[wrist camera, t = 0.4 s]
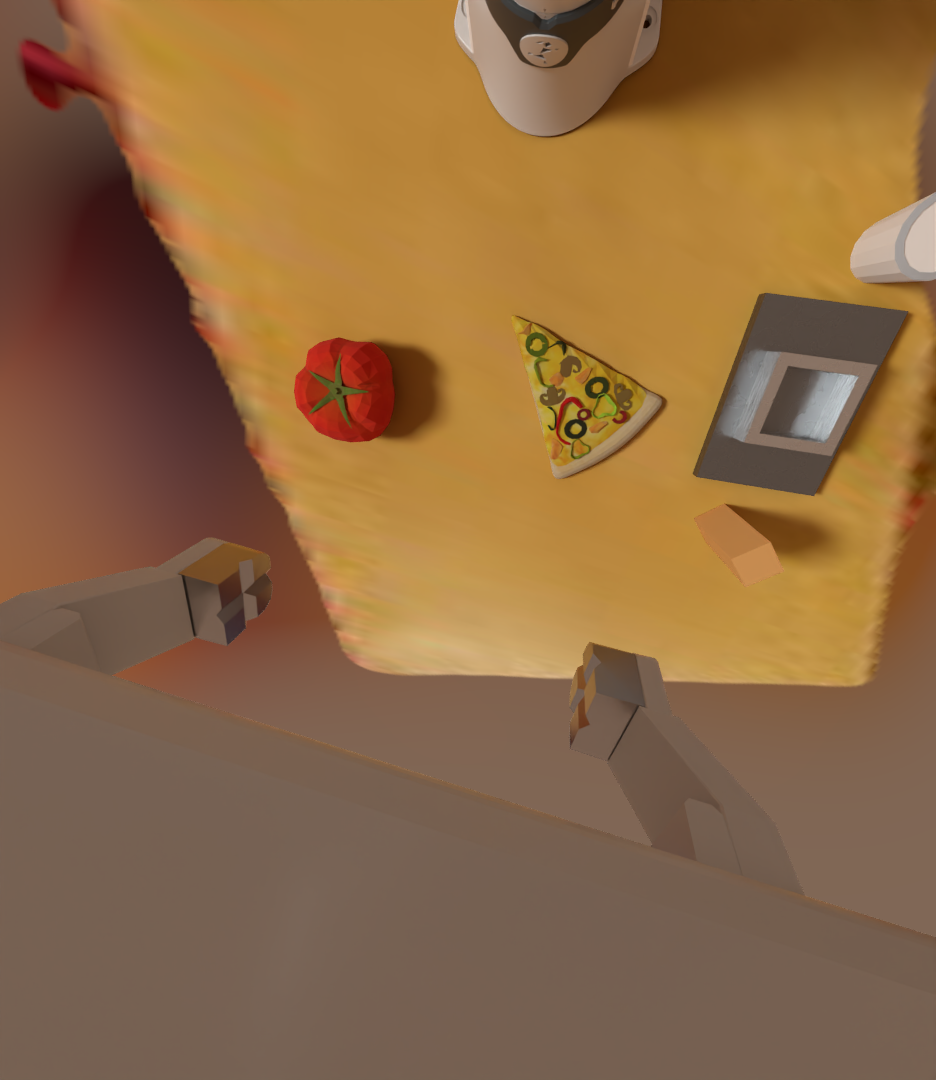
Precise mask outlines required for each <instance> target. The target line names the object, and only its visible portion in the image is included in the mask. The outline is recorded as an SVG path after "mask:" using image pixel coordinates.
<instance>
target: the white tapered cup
mask: <svg viewBox="0 0 936 1080" xmlns="http://www.w3.org/2000/svg"><path fill="white" fill-rule="evenodd" d="M851 270H852V272H853V274H854V276H855V278H857V279H859V280H860V281H862V282H864V283H895V282H917V281H931V280H934V279H936V193H933V194H931V195H929V196H927V197H926V198H924V199H922V200H920V201H918V202H916V203H914V204H912V205H910V206H908V207H906V208H904V209H902V210H900V211H898V212H896V213H894V214H892V215H890V216H888V217H886V218H884V219H882V220H880V221H878V222H876V223H875V224H874V225H872V226H871V227H870V228H868V229H867V230H866V231H864V233H863V234H862V235H861V237H860V238H859V239H858V241H857V242H856V243H855V246H854V249H853V251H852V254H851Z"/></svg>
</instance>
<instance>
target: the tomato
mask: <svg viewBox="0 0 936 1080" xmlns="http://www.w3.org/2000/svg"><path fill="white" fill-rule="evenodd" d="M294 394H295V399H296V405H297V408H298V409H299V410H300V411H301V412H302V413H303V414H304V416H305V417H306V418H307V420H308V421H309V422H310V423H311V424H312V425H313V426H314V428H315V429H316V431H318V432H319V433H321V434H324V435H326V436H328V437H331V438H333V439H336V440H342V441H347V442H362V441H371V440H372V439H374V438H376V437H378V436H380V435H381V434H382V432H383V431H384V430H385V429H386V427H387V426H388V424H389V423H390V419H391V416H392V412H393V409H394V399H395V392H394V385H393V380H392V367H391V364H390V362H389V359H388V357H387V355H386V354H385V353H384V352H383V351H382V350H381V349H380V348H379V347H378V346H377V345H376V344H374V343H372V342H355V341H350V340H346V339H343V338H335V339H331V340H327V341H323V342H320V343H318V344H317V345H316V346H314V347H313V348H311V349H310V350H309V351H308V354H307V360H306V366H305V367H304V368H303V369H302V370H301V371H300V372H299V373H298V374H297V375H296V380H295V389H294Z"/></svg>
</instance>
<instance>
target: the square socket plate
mask: <svg viewBox="0 0 936 1080" xmlns="http://www.w3.org/2000/svg"><path fill="white" fill-rule="evenodd" d="M907 313H908V311H901V310H893V309H886V308H878V307H870V306H862V305H855V304H847V303H839V302H832V301H824V300H816V299H808V298H801V297H793V296H785V295H777V294H770V293H764V294H760V295H759V296H758V299H757V302H756V305H755V307H754V310H753V313H752V315H751V318H750V321H749V323H748V326H747V329H746V331H745V334H744V337H743V340H742V342H741V345H740V348H739V350H738V353H737V356H736V358H735V361H734V364H733V366H732V369H731V372H730V375H729V377H728V380H727V383H726V385H725V388H724V391H723V393H722V396H721V399H720V401H719V404H718V407H717V410H716V412H715V415H714V418H713V420H712V423H711V426H710V428H709V431H708V434H707V437H706V439H705V442H704V445H703V447H702V450H701V453H700V455H699V458H698V461H697V463H696V466H695V469H694V472H693V474H694V475H695V476H696V477H700V478H707V479H713V480H719V481H725V482H731V483H737V484H743V485H750V486H756V487H762V488H768V489H774V490H780V491H786V492H793V493H799V494H805V495H811V496H814V495H815V493H816V491H817V489H818V487H819V485H820V483H821V481H822V479H823V477H824V475H825V473H826V471H827V470H828V468H829V466H830V464H831V462H832V460H833V458H834V456H835V454H836V452H837V450H838V448H839V446H840V444H841V442H842V440H843V438H844V436H845V434H846V432H847V430H848V428H849V426H850V425H851V423H852V421H853V419H854V417H855V415H856V413H857V411H858V409H859V407H860V405H861V403H862V401H863V399H864V397H865V395H866V393H867V391H868V389H869V387H870V385H871V383H872V381H873V380H874V378H875V376H876V374H877V372H878V370H879V368H880V366H881V364H882V362H883V360H884V358H885V356H886V354H887V352H888V350H889V348H890V346H891V344H892V342H893V340H894V338H895V336H896V335H897V333H898V331H899V329H900V327H901V325H902V323H903V321H904V319H905V317H906V315H907Z"/></svg>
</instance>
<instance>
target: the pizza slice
mask: <svg viewBox="0 0 936 1080" xmlns="http://www.w3.org/2000/svg"><path fill="white" fill-rule="evenodd" d="M511 321H512V324H513V327H514V330H515V333H516V336H517V340H518V343H519V347H520V351H521V355H522V358H523V362H524V367H525V369H526V372H527V374H528V378H529V381H530V385H531V389H532V393H533V397H534V401H535V405H536V408H537V412H538V416H539V420H540V424H541V428H542V432H543V435H544V439H545V443H546V447H547V451H548V455H549V458H550V462H551V467H552V472H553V475H554V477H555V478H557V479H561V478H566V477H568V476H570V475H573V474H575V473H577V472H579V471H581V470H584V469H586V468H588V467H590V466H592V465H594V464H596V463H598V462H599V461H601V460H603V459H605V458H606V457H608V456H609V455H611V454H612V453H614V452H615V451H617V450H618V449H620V448H621V447H622V446H623V445H625V444H626V443H627V442H628V441H629V440H630V439H632V438H633V437H634V436H635V435H636V434H637V433H638V432H639V431H640V430H641V429H642V428H643V427H644V425H645V424H646V423H647V422H648V421H649V420H650V419H651V418H652V417H653V415H654V414H655V413H656V412H657V411H658V410H659V408H660V406H661V405H662V399H661V398H660V397H659V396H658V395H656V394H654V393H652V392H650V391H648V390H646V389H644V388H642V387H641V386H639V385H637V384H635V383H634V382H633V381H632V380H630V379H629V378H627V377H625V376H623V375H621V374H619V373H617V372H615V371H613V370H611V369H609V368H608V367H606V366H605V365H603V364H601V363H600V362H598V361H596V360H594V359H593V358H591V357H589V356H587V355H586V354H584V353H582V352H580V351H579V350H577V349H575V348H572V347H570V346H568V345H567V344H565V343H564V342H563V341H560V340H559V339H557V338H556V337H554V336H553V335H552V334H551V333H549V332H548V331H547V330H545V329H543V328H542V327H540V326H538V325H536V324H534V323H531V322H527V321H525V320H523V319H521V318H519V317H516V316H514V315H512V320H511Z"/></svg>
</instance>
